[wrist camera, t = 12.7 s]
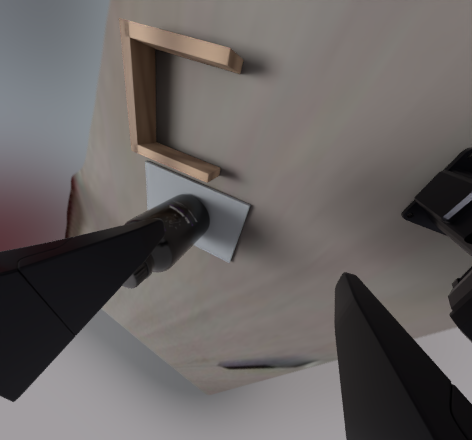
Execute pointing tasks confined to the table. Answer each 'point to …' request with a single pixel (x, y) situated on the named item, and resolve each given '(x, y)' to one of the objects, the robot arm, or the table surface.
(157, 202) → the slate mat
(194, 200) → the supplement bottle
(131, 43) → the tan wooden bay
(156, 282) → the table surface
